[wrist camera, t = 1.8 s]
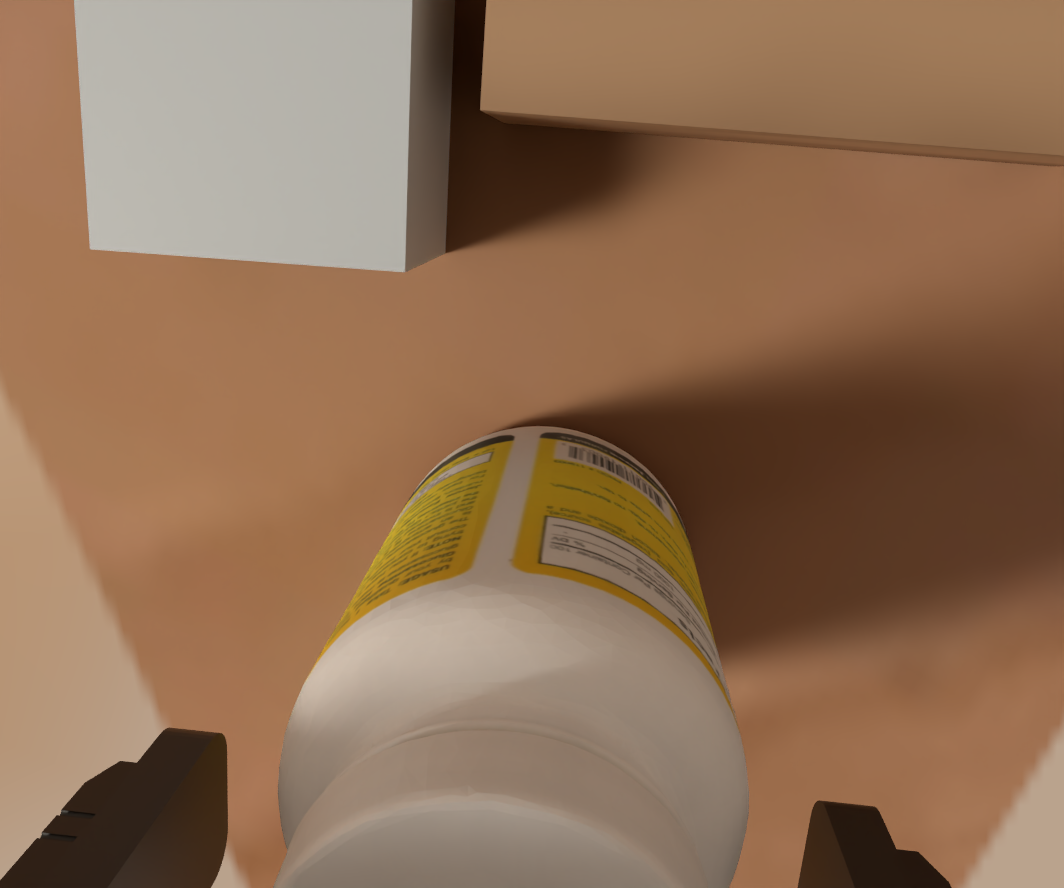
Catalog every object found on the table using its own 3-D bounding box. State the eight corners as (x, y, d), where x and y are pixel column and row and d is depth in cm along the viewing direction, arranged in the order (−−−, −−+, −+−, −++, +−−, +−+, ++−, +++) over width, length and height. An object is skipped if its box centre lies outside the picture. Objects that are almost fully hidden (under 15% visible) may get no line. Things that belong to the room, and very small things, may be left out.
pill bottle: (415, 695, 21) (224, 1232, 10) (381, 428, 19) (110, 736, 9) (697, 686, 20) (802, 1241, 10) (686, 409, 19) (799, 715, 8)
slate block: (186, -44, 17) (67, -109, 13) (457, -29, 17) (414, -90, 13) (195, 234, 19) (89, 249, 15) (446, 252, 18) (404, 272, 14)
